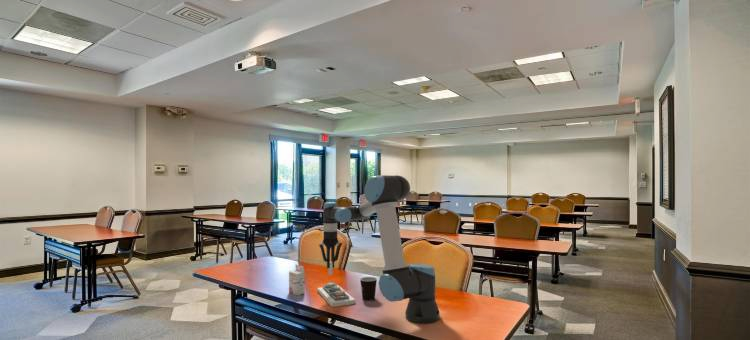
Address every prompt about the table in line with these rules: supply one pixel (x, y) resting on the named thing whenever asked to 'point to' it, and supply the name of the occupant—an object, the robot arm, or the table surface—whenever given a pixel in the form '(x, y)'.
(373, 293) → the coffee mug
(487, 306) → the table surface
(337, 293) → the clay button
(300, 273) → the ink cartridge box
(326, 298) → the button panel
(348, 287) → the table surface
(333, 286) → the sage button
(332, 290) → the slate button
